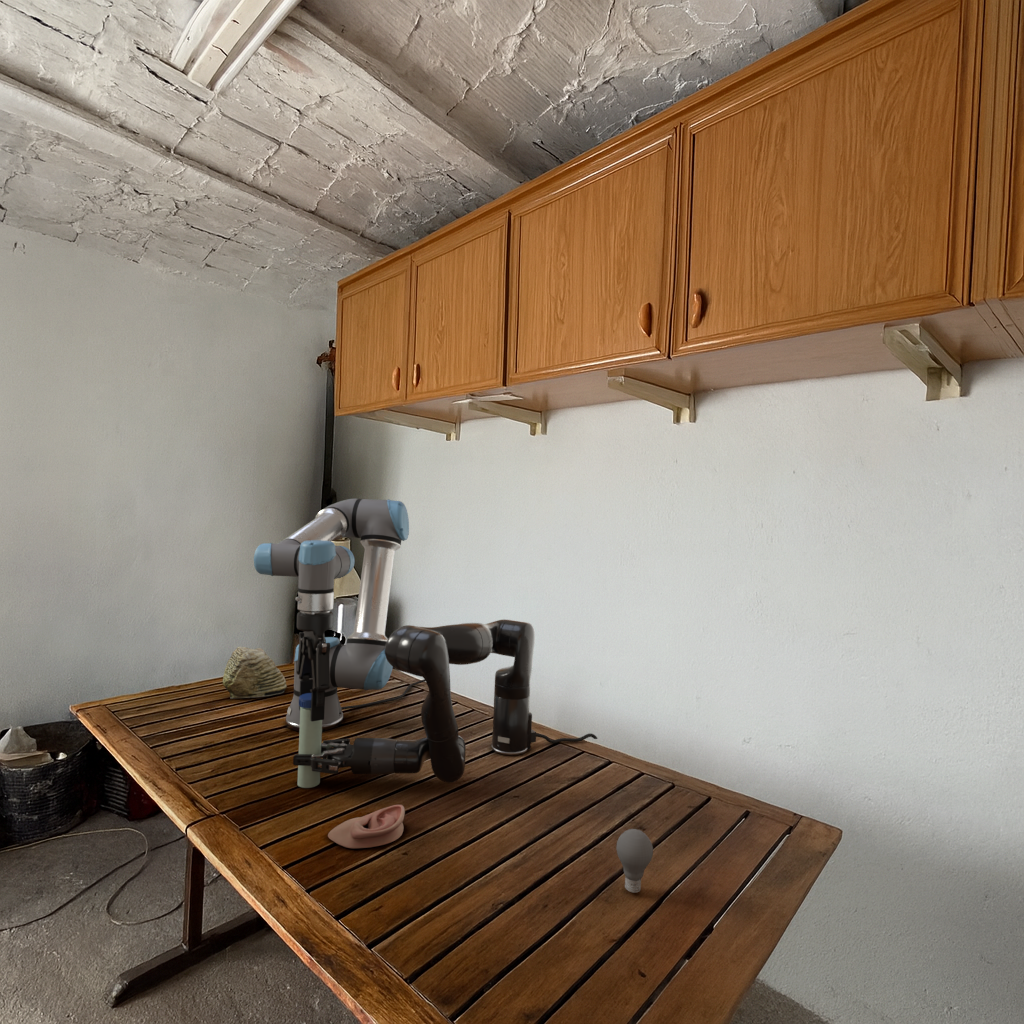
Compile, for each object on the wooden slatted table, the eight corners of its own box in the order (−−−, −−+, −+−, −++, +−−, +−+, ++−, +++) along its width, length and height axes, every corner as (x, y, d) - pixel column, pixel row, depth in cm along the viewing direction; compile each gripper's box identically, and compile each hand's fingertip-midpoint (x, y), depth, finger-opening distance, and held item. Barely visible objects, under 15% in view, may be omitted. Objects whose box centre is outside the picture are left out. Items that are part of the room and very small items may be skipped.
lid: (314, 698, 143) (314, 690, 143) (329, 704, 140) (330, 696, 140) (293, 704, 139) (293, 696, 139) (308, 710, 136) (309, 701, 136)
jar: (306, 790, 136) (309, 704, 136) (292, 783, 139) (296, 699, 139) (324, 782, 140) (327, 699, 140) (311, 776, 143) (314, 694, 143)
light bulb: (610, 879, 108) (613, 822, 108) (644, 879, 109) (647, 822, 109) (619, 902, 102) (622, 840, 102) (655, 901, 103) (658, 840, 103)
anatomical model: (320, 822, 115) (348, 794, 127) (319, 843, 116) (348, 813, 127) (388, 833, 113) (411, 803, 124) (387, 855, 113) (410, 823, 124)
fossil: (218, 695, 195) (220, 647, 195) (278, 685, 208) (279, 640, 207) (228, 703, 189) (230, 653, 188) (289, 692, 201) (290, 645, 201)
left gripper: (284, 604, 145) (280, 703, 146) (313, 620, 129) (308, 732, 129) (316, 602, 150) (313, 698, 150) (348, 617, 133) (344, 725, 133)
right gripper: (380, 727, 148) (306, 726, 147) (370, 752, 133) (288, 750, 132) (379, 759, 148) (305, 758, 147) (369, 787, 134) (287, 786, 132)
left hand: (311, 714), depth 140 cm, fingers open, 7 cm apart
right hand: (297, 754), depth 139 cm, fingers closed on jar, 4 cm apart
